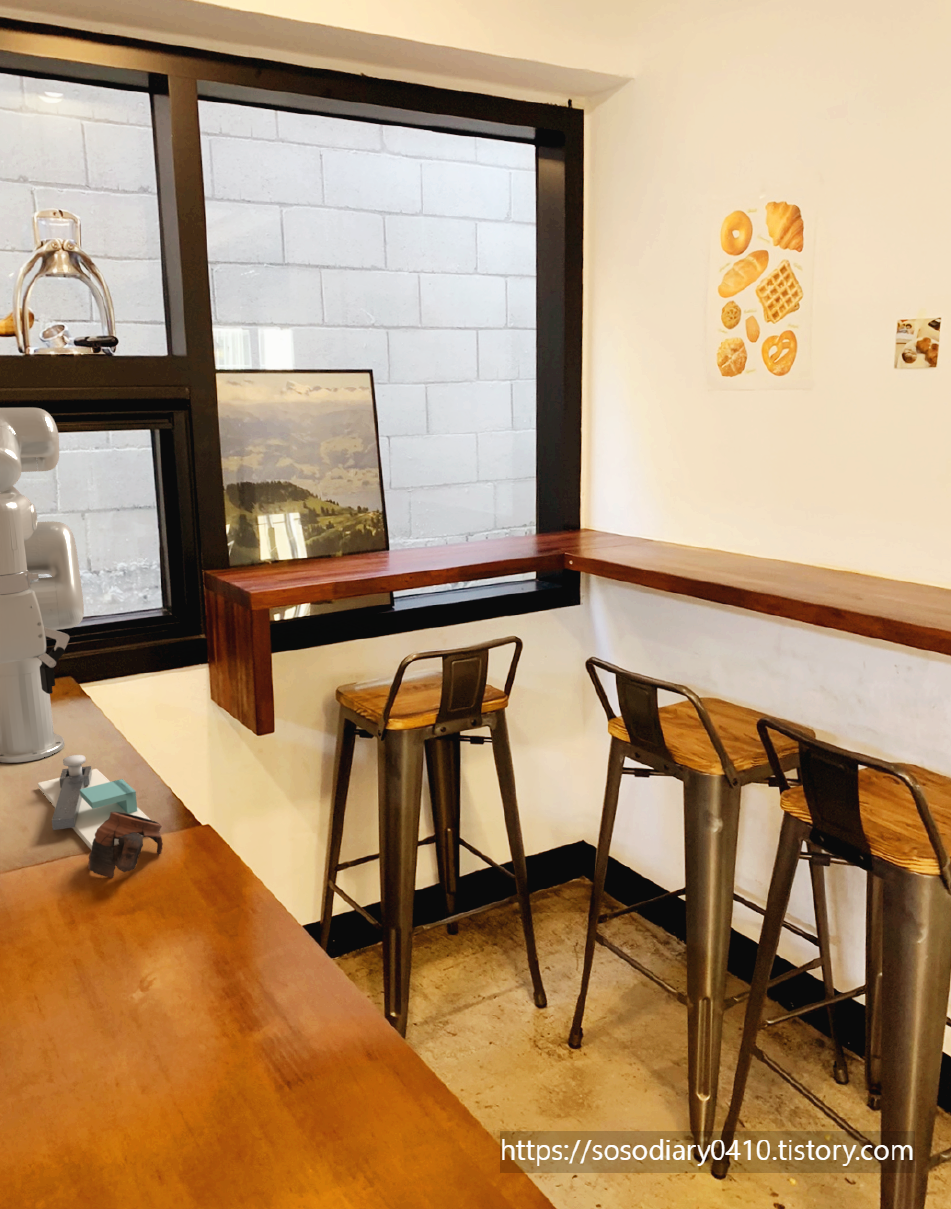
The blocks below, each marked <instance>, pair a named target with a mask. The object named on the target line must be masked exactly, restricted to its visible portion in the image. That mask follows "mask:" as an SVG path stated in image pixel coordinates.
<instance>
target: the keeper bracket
mask: <svg viewBox="0 0 951 1209" xmlns="http://www.w3.org/2000/svg"><path fill="white" fill-rule="evenodd" d="M80 796H81V797H82V798H83V799H84V800H85V801H86V802H87V803H88V804H89V805H90V806H91V807H92V809H94V808H98V807H102V806H105V805H109V804H113V803H117V804H118V805H119V806H120V807H121V808H122V809H123V810H124V811H125V812H126V813H127V814H129V813H132V812H136V811H137V807H138V803H137V791H136V790H135V789H134V788H133V787H132V786H131V785H129V783H127V782H126V781H125V780H124V779H123V778H120V779H117V780H113V781H110V782H108V783H104V784H100V785H96V786H92V787H88V788H84V789H80Z"/></svg>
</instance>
